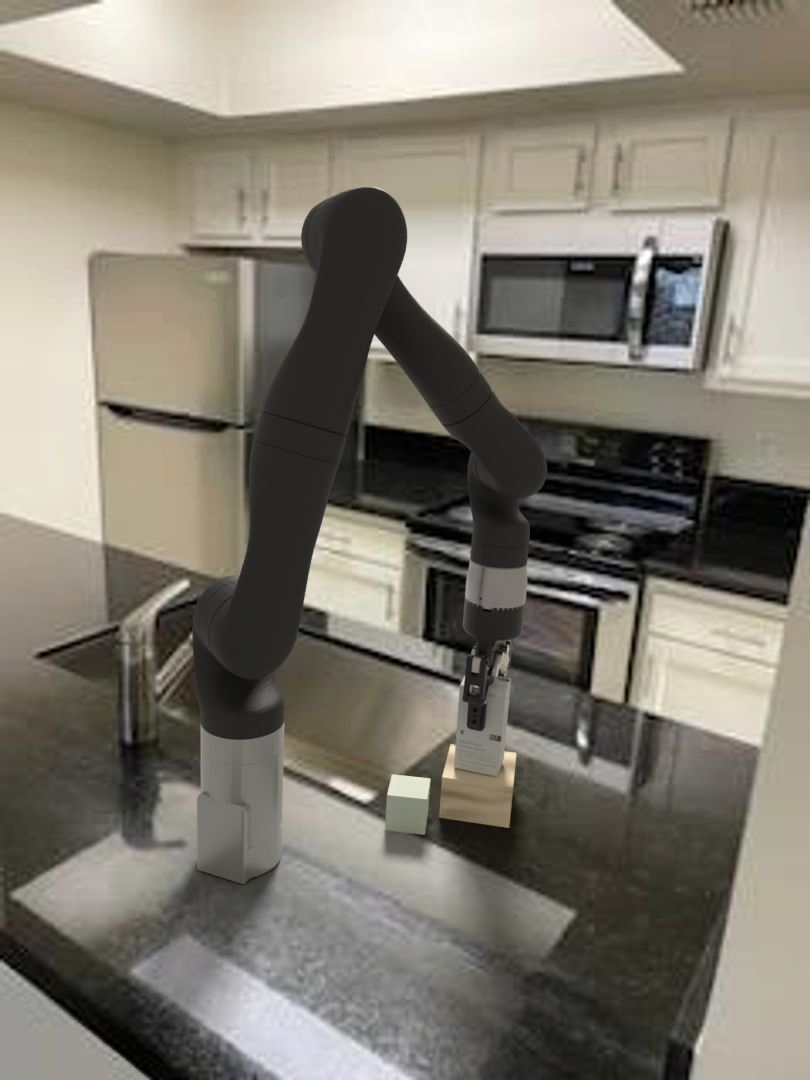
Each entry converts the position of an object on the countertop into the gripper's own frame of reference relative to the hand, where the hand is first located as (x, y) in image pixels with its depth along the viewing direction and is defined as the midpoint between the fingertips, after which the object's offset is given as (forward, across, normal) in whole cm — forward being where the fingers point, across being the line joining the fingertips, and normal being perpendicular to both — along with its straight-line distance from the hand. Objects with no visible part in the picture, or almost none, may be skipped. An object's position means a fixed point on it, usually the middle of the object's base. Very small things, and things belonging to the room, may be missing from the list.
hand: (484, 715), depth 108 cm
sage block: (+13, +8, -7) cm, 17 cm away
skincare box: (+7, 0, 0) cm, 7 cm away
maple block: (+13, 0, 0) cm, 13 cm away
